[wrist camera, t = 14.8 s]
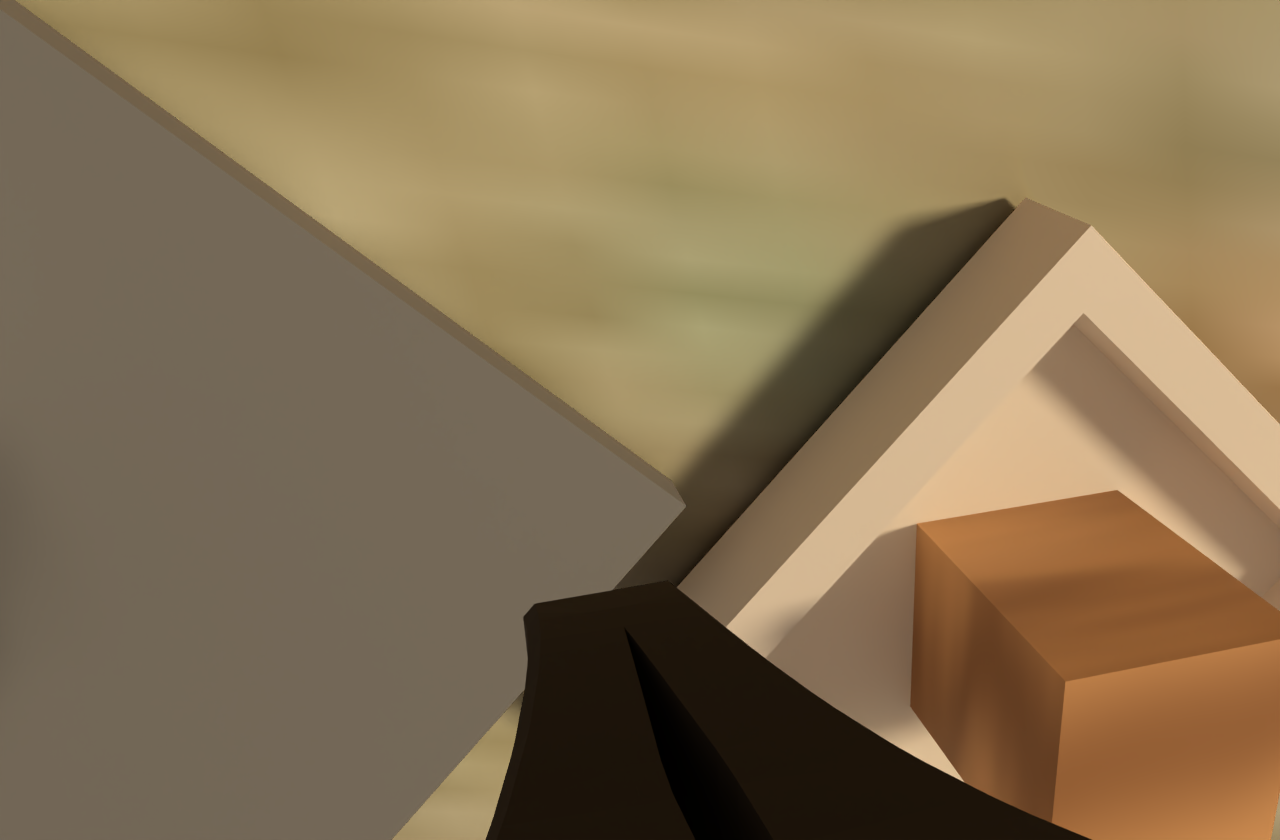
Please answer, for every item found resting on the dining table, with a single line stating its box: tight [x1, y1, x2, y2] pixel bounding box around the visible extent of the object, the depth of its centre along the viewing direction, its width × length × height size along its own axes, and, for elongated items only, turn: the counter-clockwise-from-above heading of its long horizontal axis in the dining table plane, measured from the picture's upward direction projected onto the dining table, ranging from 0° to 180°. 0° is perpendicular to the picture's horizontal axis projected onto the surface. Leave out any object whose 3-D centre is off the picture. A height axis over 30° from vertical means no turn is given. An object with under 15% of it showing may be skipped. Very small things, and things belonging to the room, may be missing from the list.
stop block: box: [910, 490, 1280, 840], centre depth 21 cm, size 4×4×5 cm
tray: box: [677, 198, 1280, 782], centre depth 23 cm, size 11×11×2 cm
